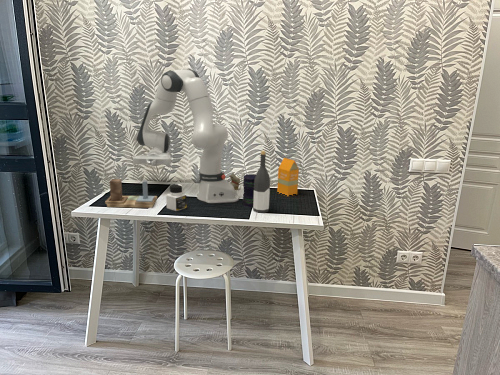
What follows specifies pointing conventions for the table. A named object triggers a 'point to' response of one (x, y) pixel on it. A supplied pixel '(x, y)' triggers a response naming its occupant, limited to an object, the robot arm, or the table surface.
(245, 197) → the storage jar
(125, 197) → the board
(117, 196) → the walnut block
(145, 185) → the grey post on base
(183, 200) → the medicine bottle
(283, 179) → the orange juice
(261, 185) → the wine bottle
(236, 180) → the chocolate bunny
